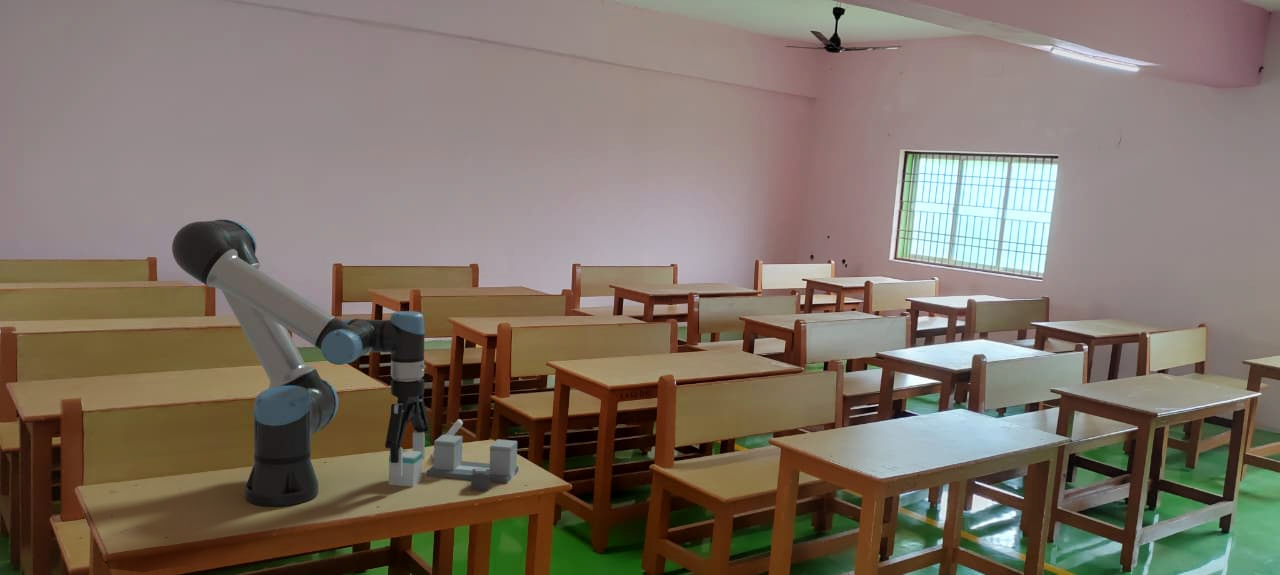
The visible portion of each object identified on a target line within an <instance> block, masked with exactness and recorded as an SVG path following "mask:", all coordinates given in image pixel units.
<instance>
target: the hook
mask: <svg viewBox="0 0 1280 575" xmlns="http://www.w3.org/2000/svg"><path fill="white" fill-rule="evenodd" d="M463 424H464V422H463V421H462V420H461V419H460V418H459V419H456V421H455V423H453V425H452V426H451V427H450V428H449V430H448V431H447V432H446V433H445V435H456V433H457V432H458V431H459V429H461V427H462V426H463ZM431 454H432V455H431V457H432V459H434V451H433V452H432V453H431Z"/></svg>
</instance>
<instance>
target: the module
mask: <svg viewBox="0 0 1280 575" xmlns="http://www.w3.org/2000/svg"><path fill="white" fill-rule="evenodd" d="M422 463H423V459H422V452H419V451H413V450H407V449H406V450H405V449H402V476H390V454H389V457H388V485H389V486H390V485H391V486H399V487H400V486H401V487H412V488H413V487H415V486H416V485H418V484H419V483H420V482H421V481H422V472H423V471H422V470H423V469H422V466H423V464H422Z"/></svg>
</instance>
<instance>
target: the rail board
mask: <svg viewBox="0 0 1280 575" xmlns="http://www.w3.org/2000/svg"><path fill="white" fill-rule="evenodd" d="M463 438H464V437H463V435H456V434H454V435H446V434H441V435H440V436H439V437H438V438H437V439H435V440H434V442H433V445H434V447H433V449H434V450H433V452H434V458H433V465H432V466H431V467H430V468H428V469H427V470H426V477H435V478H436V477H438V478H446V479H447V478H448V479H457V480H465V481H466V480H467V481H468V480H469V481H471V474H472V469H476V468H486V469H490V477H489V483H499V484H500V483H501V484H508V483H509V482H510V481H511V480H512V478H513V477H514V476H515V475H516V474H517V473H518V472H519V466H518V465H517V460H518V459H517V457H518V454H517V453H518V441H517V440H510V439H509V440H508V439H499V438H498V439H496V440H495V441H494V442H493V443H491V445H490V447H489V463H488V462H486V463H485V462H476V461H475V462H474V461H464V460H463V441H464V440H463Z"/></svg>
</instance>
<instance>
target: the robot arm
mask: <svg viewBox="0 0 1280 575" xmlns="http://www.w3.org/2000/svg"><path fill="white" fill-rule="evenodd" d="M256 250H257V241H256V238H255V236H254V234H253V233H252V231H251V230H250V229H249V228H248V227H247V226H246V225H244V224H242V223H240V222H238V221H235V220H230V219H222V218H221V219H216V220H207V221H195V222H194V221H193V222H191V223H188V224H185V226H182V227H181V228H180V229H179V230H178V231H177V232H176V233H175V235H174V236H173V240H172V244H171V253H172V256H173V258H174V260H175V263H176V264H177V265H178V266H179V267H180V268H181V270H183V271H184V272H185V273H186V274H188V275H190V276H191V277H192V278H194V279H195V280H197V281H198V282H201V283H203V284H204V285H206V286H207V287H209V288H215V289H218V290H221V292H222V294H223V295H224V298H225V299H226V302H227V303H228V305H229V307H230V309H231V311H232V312H233V315H234V316H235V318H236V320H237V322H238V323H239V325H240V328H241V329H242V331H243V334H244V335H245V336H246V338H247V341H248V342H249V344H250V346H251V348H252V350H253V352H254V354H255V355H256V356H257V359H258V361H259V363H260V364H261V366H262V368H263V371H264V373H265V374H266V376H267V377H268V379H269V382H270V383H269V386H268V388H267V389H265V390H262V391H261V392H260V393H259V394H258V395H257V396H256V398H255V399H254V407H253V412H252V414H253V449H254V450H253V451H254V452H253V453H254V454H253V456H254V457H253V465H252V468H251V470H250V474H249V476H248V479H247V482H246V484H245V490H244V493H245V496H244V498H245V500H246V501H247V502H249V503H251V504H253V505H257V506H258V505H259V506H265V507H281V506H282V507H283V506H290V505H296V504H301V503H306V502H308V501H310V500H312V499H314V498H316V496H318V495H319V481H318V478H317V475H316V472H315V468H314V466H313V463H312V461H311V450H312V449H311V448H312V447H311V445H312V444H311V441H312V438H311V436H312V435H314V434H315V433H316V432H318V431H320V430H321V429H324V428H326V426H328V424H330V422H331V421H332V420H333V419H334V418H335V416H336V414H337V412H338V409H339V396H338V393H337V391H336V389H335V387H334V386H333V385H332V384H331V383H330V382H329V381H328V380H324V379H322V378H321V376H320V374H319V372H318V370H317V369H316V367H315V366H312V365H308V364H306V363H305V360H304V359H303V357H302V355H301V353H300V350H299V349H298V347H297V345H296V344H295V341H294V340H293V338H292V336H291V334H290V333H289V331H290V332H292V333H293V334H294V335H296V336H298V337H299V338H301V339H303V340H305V341H307V343H310V344H311V345H313V346H314V347H316V348H317V349H319V350H320V351H321V354H322V356H323V357H324V359H325V360H326V361H327V362H329V363H330V364H332V365H336V366H342V365H346V364H350V363H351V364H352V363H353V362H355V361H357V360H358V358H360V357H362V356H365V355H366V354H368V353H390V377H391V378H392V379H391V381H390V394H391V395H392V396H393V397H396V398H397V402H396V404H395V403H392V404H391V406H390V418H389V423H388V427H387V433H386V438H385V443H384V446H385V449H389V455H390V476H402V450H403V447H401V446H402V443H403V440H404V436H405V432H406V429H407V426H408V423H410V422H411V425H412V427H413V430H414V431H412V451H419V452H422V460H425V458H426V457H425V452H426V451H425V448H426V447H425V446H426V445H425V443H426V442H425V434H426V433H427V432H429V430H430V428H429V420H428V415H427V410H426V406H425V400H424V399H425V398H424V397H425V396H424V393H425V379H424V378H423V377H424V376H425V369H426V368H427V365H426V364H425V334H426V330H425V320H424V318H425V317H424V315H423V314H422V313H421V312H420V311H412V310H411V311H410V310H406V311H405V310H400V311H394V312H392V313H391V315H390V318H389V319H385V320H381V319H362V318H361V319H360V318H352V319H351V318H349V319H348V318H347V319H346V318H345V319H342V320H340V319H339V318H337V317H336V316H334V315H332V314H330V312H328V311H326V310H325V309H323V308H321V307H320V306H318V305H316V304H314V303H313V302H311V301H310V300H308V299H307V298H305V297H304V296H302V295H300V294H298V293H297V292H295V291H293V290H292V289H291V288H289V287H287V286H286V285H284V284H282V283H280V282H279V281H277V280H275V279H274V278H273V277H271V276H269V275H268V274H267V273H265V272H263V271H261V270H260V266H261V264H260V262H259V259H258V258H257V256H256V252H257V251H256ZM288 330H289V331H288Z"/></svg>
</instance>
